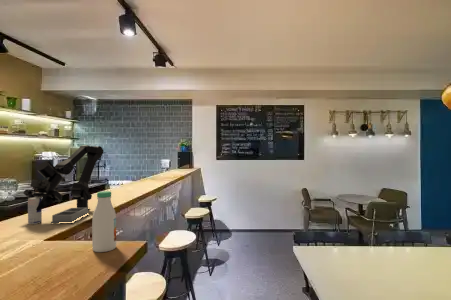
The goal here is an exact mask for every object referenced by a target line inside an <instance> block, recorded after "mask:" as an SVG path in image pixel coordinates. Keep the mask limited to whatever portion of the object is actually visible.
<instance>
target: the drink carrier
mask: <svg viewBox="0 0 451 300" xmlns="http://www.w3.org/2000/svg"><path fill="white" fill-rule="evenodd" d="M88 208H89V207H88ZM88 208H77V207H69V208H66V209H65V210H62V211H60V212H58V213H55V214H53V215H52V217H51V218H52V219H51V222H50V224H51V223H59V222H72V221H74V220H76V219H77V218H79V217H81V216H83V215H85V214H87V213H89V210H88Z"/></svg>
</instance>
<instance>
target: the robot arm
mask: <svg viewBox="0 0 451 300" xmlns="http://www.w3.org/2000/svg"><path fill="white" fill-rule="evenodd" d="M103 154H104V149H103V147H102V146H99V145H97V146H92V145H87V144H85V145H83V144H82V145H80V146H79V148H77V149H76V150H75V151H74V152H72V154H71V155H69V157H67V158H66V159H65V160H62V161H60V162H58V163H57V164H55V165H53V164H52V162H51V161H50V160H45V161H44V162H41V163H40V164H38V165H37V166H36V171H37V172H38V173H39V174H40V175H41V176H43V179H32V180H31V182H30V185H29V187H31V188H33V189H29V188H27V189H25V190H24V191H23V192H22V194H24V196H26V197H27V198H32V197H41V202H40V204H39V205H38V207H37V209H36V210H37V211H39V210H40V209H44V208H46V207H47V206H49V205H51V204H53V203H55V202H61V201H62V200H63V195H62V194H61V193H60V192H59V190H58V186H59V185H60V183H65V182H66V177H65V175H67V176H68V175H70V174H71V173H72V172H73V170H74V168H75V165H76V164H77V163H78V162H80V160H81V159H82V158H83V157H85V156H87V160H86V162H85V165H84V167H83V170H82V172H81V175H80V178H79V180H78V181H77V182H74V183H73V184H72V187H71V188H70V194H71V196H72V199H73V200H74V201H75V200H76V208H89V200H92V198H93V195H92V194H91V193H90V192H89V190H90V186H89V182H90V179H91V177H92V174H93V172H94V168H95V166H96V163H97V161H99V160H100V159H101V158H102V156H103ZM63 175H64V176H63ZM34 188H35V189H34ZM37 191H38V192H37ZM26 210H27V211H28V204H27V205H26Z"/></svg>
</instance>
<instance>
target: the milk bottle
mask: <svg viewBox="0 0 451 300" xmlns="http://www.w3.org/2000/svg"><path fill="white" fill-rule="evenodd" d="M96 196H97V197H96V198H97V203H96V206H95V208H94V211H93V214H92V220H91V221H92V222H91V223H92V226H91V227H92V228H91V231H92V233H91V235H92V240H91V241H92V244H91V245H92V246H91V247H92V251H93V252H95V253H104V252H110V251H113V250H115V249H116V247H117V214H116V210H115V208H114V206H113V204H112V201H111V200H112V199H111V198H112V191H107V190H106V191H105V190H104V191H97V193H96Z"/></svg>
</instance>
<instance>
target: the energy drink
mask: <svg viewBox="0 0 451 300" xmlns="http://www.w3.org/2000/svg"><path fill="white" fill-rule="evenodd" d="M27 198H28V197H27ZM41 201H42V197H32V198H28V199H27V205H28V210H27V223H28V225H30V224H34V225H38V224H37V223H39V224H41V223H42V222H43V220H42V219H43V218H42V217H43V215H42V213H43V212H42V211H43V210H42V209H43V208H42V209H40V210H39V211H37V210H36V209H37V207H38V205H39V204H40V202H41ZM40 222H41V223H40Z"/></svg>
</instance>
